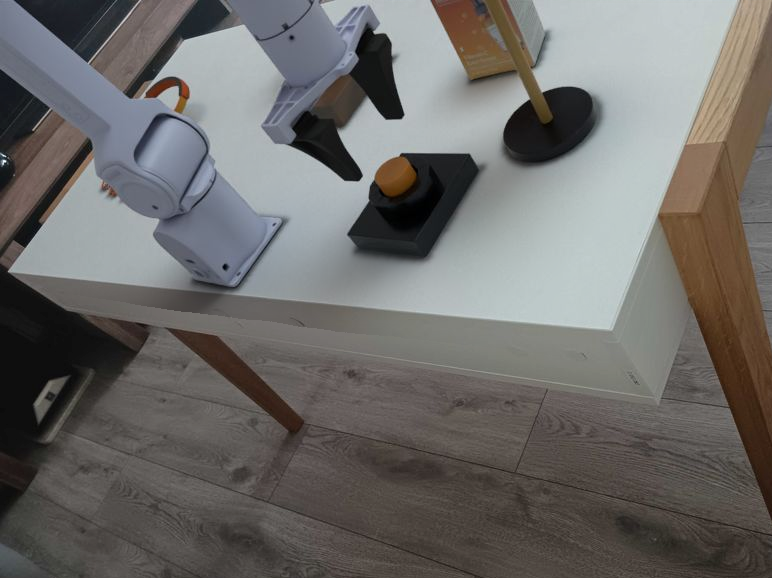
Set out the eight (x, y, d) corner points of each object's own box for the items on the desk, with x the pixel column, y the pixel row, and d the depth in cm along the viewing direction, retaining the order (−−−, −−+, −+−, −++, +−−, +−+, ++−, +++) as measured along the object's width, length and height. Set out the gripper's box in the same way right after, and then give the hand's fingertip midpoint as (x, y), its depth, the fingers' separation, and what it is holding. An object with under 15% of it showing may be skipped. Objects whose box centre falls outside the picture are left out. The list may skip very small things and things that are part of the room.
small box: (470, 82, 83) (425, -3, 75) (483, 49, 85) (441, -36, 78) (536, 66, 79) (495, -25, 71) (547, 33, 81) (509, -59, 74)
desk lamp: (575, 168, 67) (456, -96, 50) (486, 166, 73) (352, -70, 56) (618, 90, 70) (520, -181, 53) (529, 94, 76) (416, -148, 59)
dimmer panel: (344, 126, 90) (329, 105, 87) (296, 127, 95) (281, 107, 93) (393, 58, 94) (380, 36, 92) (344, 63, 99) (331, 42, 97)
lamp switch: (405, 198, 69) (395, 185, 68) (377, 197, 71) (367, 183, 70) (423, 170, 71) (414, 156, 69) (395, 169, 73) (386, 156, 71)
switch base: (426, 257, 69) (405, 228, 66) (358, 249, 74) (335, 221, 71) (479, 169, 73) (461, 138, 70) (411, 168, 78) (392, 139, 75)
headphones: (158, 212, 104) (221, 89, 107) (124, 193, 100) (190, 65, 103) (104, 201, 115) (163, 89, 118) (72, 183, 111) (133, 68, 114)
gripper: (264, 77, 53) (365, 209, 63) (366, -51, 58) (445, 89, 68) (207, 82, 57) (310, 205, 67) (307, -38, 63) (389, 92, 72)
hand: (375, 147), depth 68 cm, fingers open, 7 cm apart
